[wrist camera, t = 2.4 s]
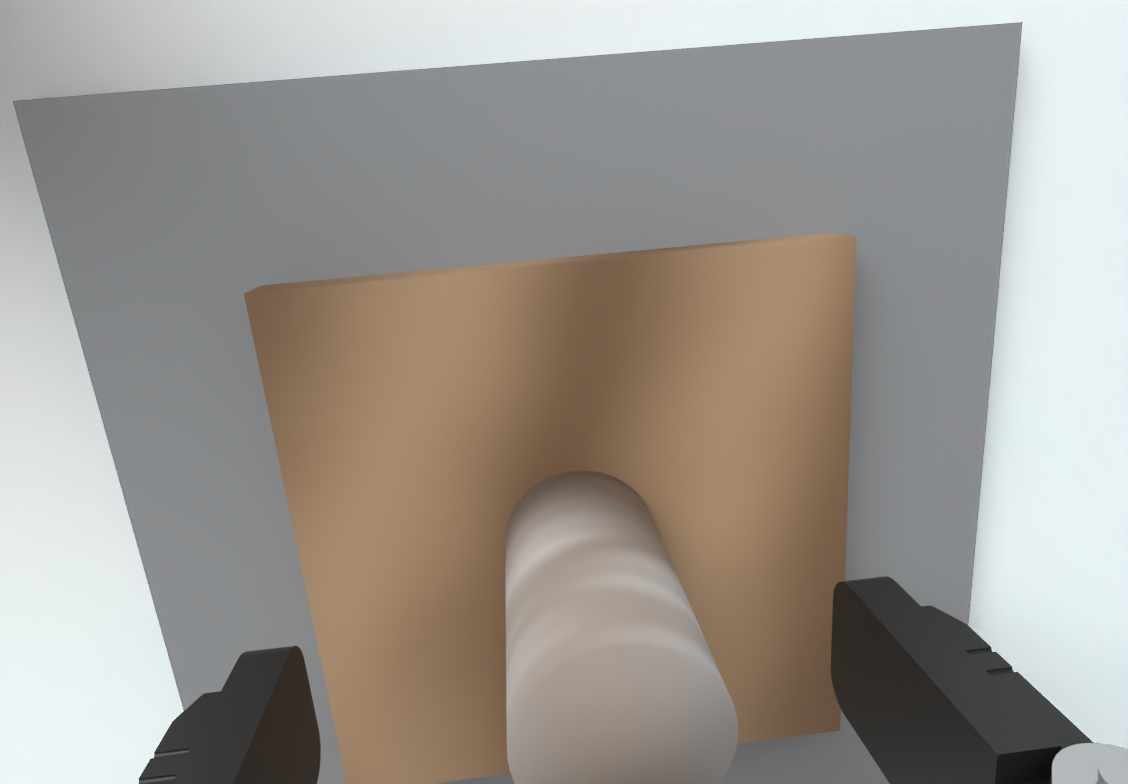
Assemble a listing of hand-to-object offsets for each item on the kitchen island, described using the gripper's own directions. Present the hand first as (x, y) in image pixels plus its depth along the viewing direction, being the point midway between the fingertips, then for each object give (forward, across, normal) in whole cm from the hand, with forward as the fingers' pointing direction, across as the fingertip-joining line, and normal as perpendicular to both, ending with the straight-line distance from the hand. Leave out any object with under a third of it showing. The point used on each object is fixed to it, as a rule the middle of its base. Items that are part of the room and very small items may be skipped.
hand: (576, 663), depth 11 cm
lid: (+5, 0, 0) cm, 5 cm away
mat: (+5, 0, 0) cm, 5 cm away
